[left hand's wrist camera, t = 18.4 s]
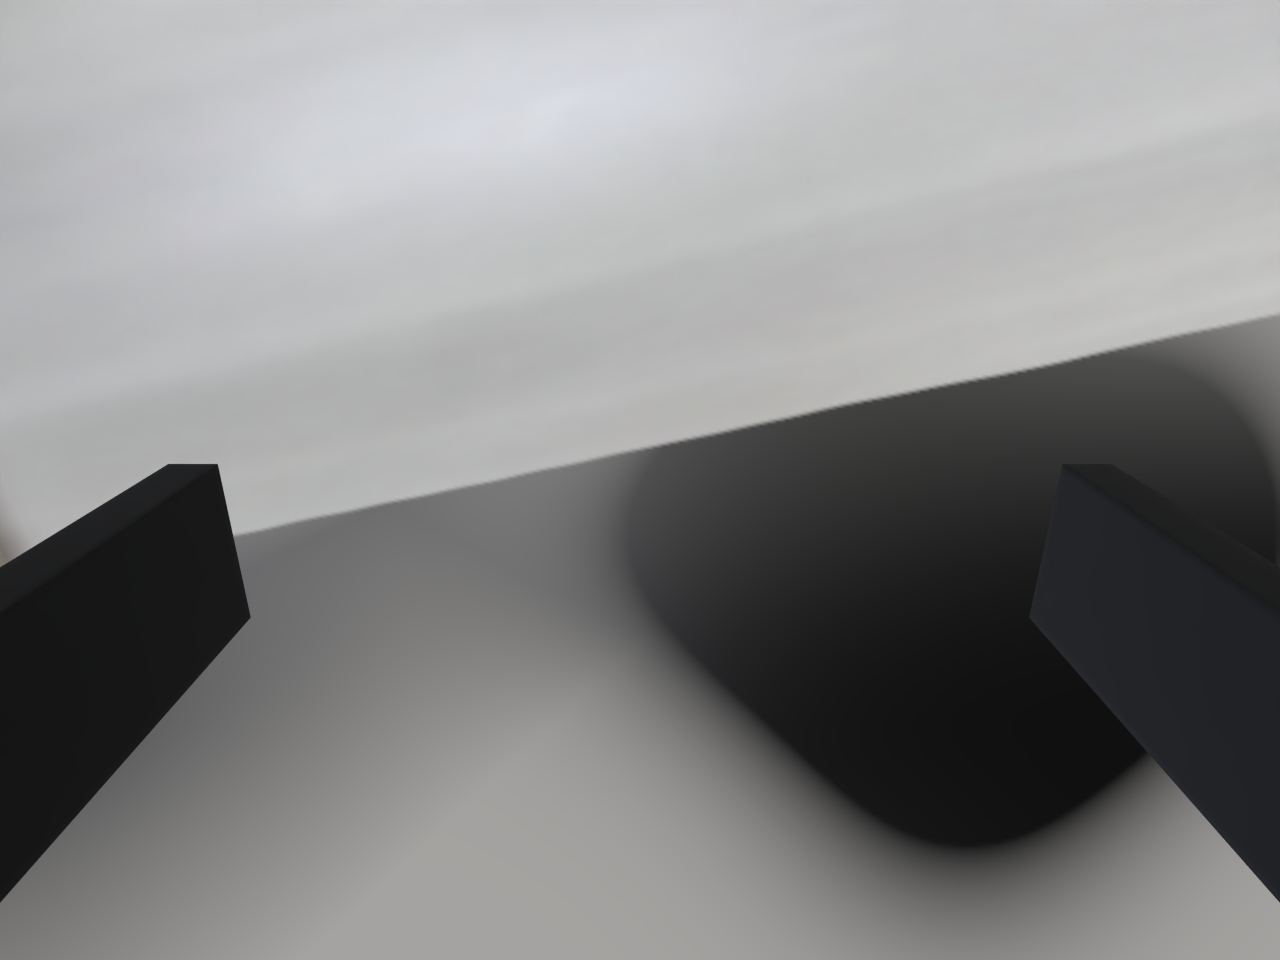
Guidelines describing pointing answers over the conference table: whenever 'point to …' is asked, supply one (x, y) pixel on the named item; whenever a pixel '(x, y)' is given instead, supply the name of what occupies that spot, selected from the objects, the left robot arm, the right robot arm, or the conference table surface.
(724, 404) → the conference table surface
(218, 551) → the left robot arm
